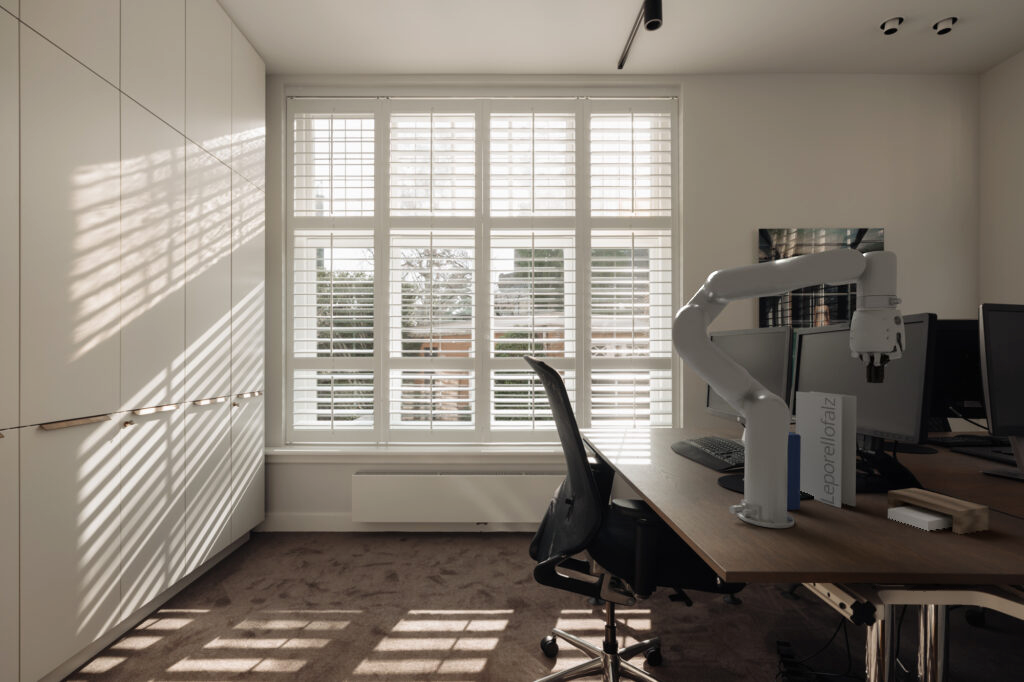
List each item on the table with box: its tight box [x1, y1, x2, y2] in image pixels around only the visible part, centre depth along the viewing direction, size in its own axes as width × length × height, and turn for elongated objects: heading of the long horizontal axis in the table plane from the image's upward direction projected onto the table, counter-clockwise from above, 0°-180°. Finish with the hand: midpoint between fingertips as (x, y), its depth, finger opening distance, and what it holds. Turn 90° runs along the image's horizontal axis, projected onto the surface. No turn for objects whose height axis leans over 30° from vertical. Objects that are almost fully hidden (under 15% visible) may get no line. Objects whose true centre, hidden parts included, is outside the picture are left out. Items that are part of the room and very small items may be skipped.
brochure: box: [795, 390, 858, 509], centre depth 139 cm, size 14×6×30 cm, turn 18°
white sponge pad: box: [887, 505, 953, 532], centre depth 122 cm, size 14×9×2 cm, turn 109°
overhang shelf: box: [887, 487, 990, 535], centre depth 123 cm, size 10×16×6 cm, turn 19°
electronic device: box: [787, 431, 801, 511], centre depth 133 cm, size 10×5×20 cm, turn 9°
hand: (875, 382), depth 114 cm, fingers closed
